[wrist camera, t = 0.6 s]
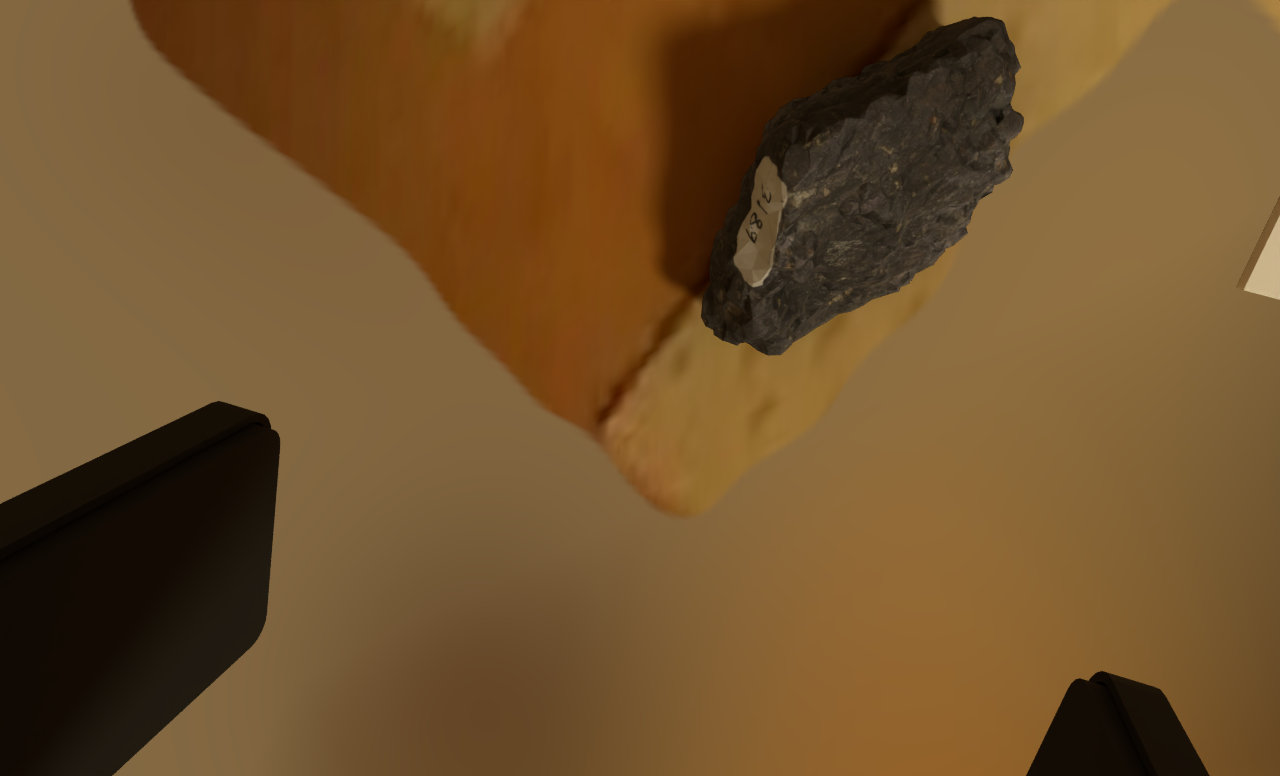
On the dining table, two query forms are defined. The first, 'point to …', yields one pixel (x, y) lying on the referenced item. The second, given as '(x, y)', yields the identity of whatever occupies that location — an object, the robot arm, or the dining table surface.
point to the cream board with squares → (1265, 261)
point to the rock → (864, 186)
